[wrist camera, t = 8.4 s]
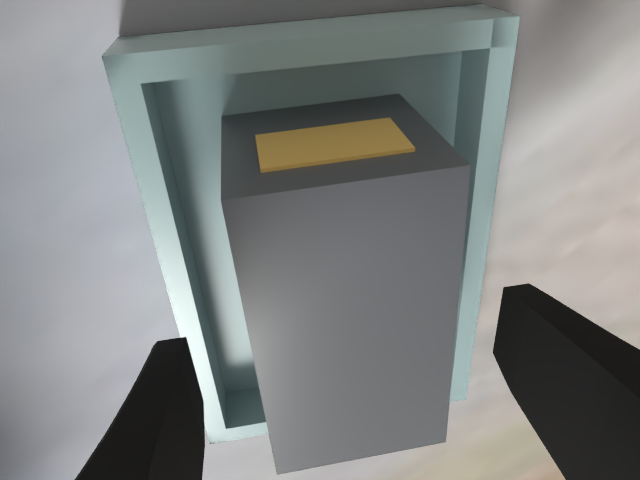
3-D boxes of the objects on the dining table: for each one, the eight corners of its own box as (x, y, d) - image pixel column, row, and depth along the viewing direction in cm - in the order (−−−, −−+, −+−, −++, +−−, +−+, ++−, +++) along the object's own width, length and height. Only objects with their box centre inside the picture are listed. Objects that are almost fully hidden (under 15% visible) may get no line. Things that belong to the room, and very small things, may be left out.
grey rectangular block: (397, 328, 17) (445, 442, 14) (265, 350, 17) (277, 474, 13) (399, 90, 13) (471, 160, 9) (220, 112, 13) (219, 196, 9)
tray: (445, 359, 19) (466, 399, 18) (211, 398, 18) (209, 444, 17) (482, 3, 13) (520, 16, 11) (118, 37, 12) (101, 56, 10)
